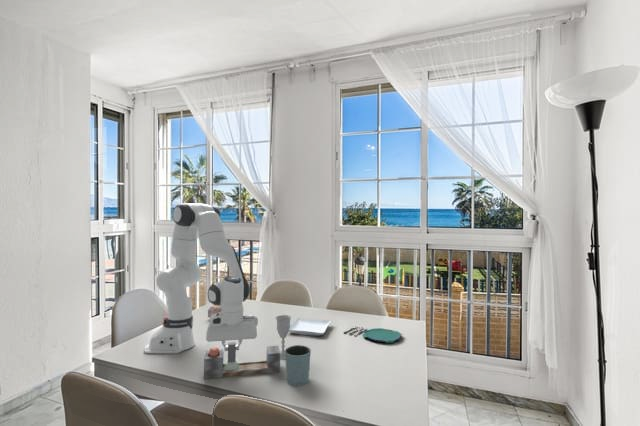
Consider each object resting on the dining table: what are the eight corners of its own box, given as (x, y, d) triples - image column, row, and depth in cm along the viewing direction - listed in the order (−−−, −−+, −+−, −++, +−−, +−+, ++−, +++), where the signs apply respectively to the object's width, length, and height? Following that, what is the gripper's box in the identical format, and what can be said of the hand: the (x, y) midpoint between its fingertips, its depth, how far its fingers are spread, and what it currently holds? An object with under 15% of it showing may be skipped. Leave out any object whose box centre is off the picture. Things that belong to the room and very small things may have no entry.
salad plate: (285, 335, 186) (285, 328, 186) (297, 322, 207) (297, 317, 207) (323, 339, 181) (323, 332, 181) (332, 326, 202) (332, 320, 202)
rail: (203, 379, 135) (204, 358, 135) (205, 370, 143) (206, 350, 143) (280, 372, 142) (280, 353, 142) (277, 363, 150) (278, 345, 150)
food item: (216, 321, 206) (216, 305, 206) (206, 319, 210) (206, 303, 209) (232, 315, 218) (232, 300, 218) (222, 313, 222) (222, 298, 221)
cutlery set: (392, 348, 170) (392, 343, 170) (340, 335, 187) (340, 331, 187) (407, 336, 186) (407, 332, 186) (358, 326, 203) (358, 322, 204)
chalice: (283, 352, 162) (284, 314, 162) (293, 356, 158) (294, 317, 158) (271, 357, 157) (272, 317, 157) (282, 361, 152) (283, 320, 152)
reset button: (208, 361, 138) (209, 351, 138) (209, 357, 141) (209, 347, 141) (218, 360, 139) (218, 350, 139) (218, 356, 142) (219, 347, 142)
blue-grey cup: (310, 374, 141) (310, 345, 141) (310, 386, 131) (310, 355, 131) (285, 374, 141) (285, 345, 141) (283, 386, 131) (284, 355, 130)
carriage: (225, 371, 139) (225, 346, 139) (225, 365, 144) (225, 341, 144) (237, 370, 140) (238, 345, 140) (237, 364, 145) (238, 340, 145)
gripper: (257, 313, 147) (257, 345, 147) (207, 315, 142) (206, 348, 143) (258, 317, 141) (257, 351, 141) (205, 320, 136) (205, 355, 136)
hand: (231, 350), depth 142 cm, fingers closed on carriage, 3 cm apart
